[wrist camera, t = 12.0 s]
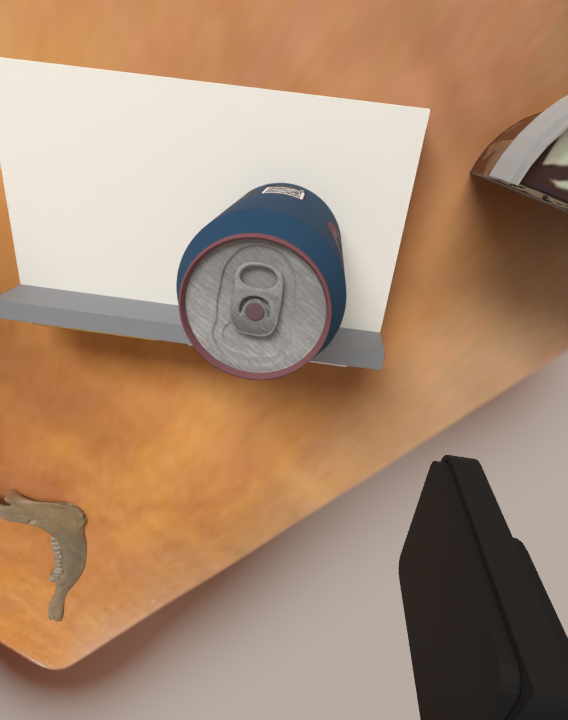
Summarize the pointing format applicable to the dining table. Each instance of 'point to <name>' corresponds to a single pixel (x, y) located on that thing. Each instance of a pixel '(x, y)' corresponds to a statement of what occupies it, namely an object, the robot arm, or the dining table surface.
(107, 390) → the dining table surface
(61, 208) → the display shelf
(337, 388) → the dining table surface
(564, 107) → the food container
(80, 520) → the jawbone
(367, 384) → the dining table surface
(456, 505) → the robot arm
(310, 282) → the soda can
